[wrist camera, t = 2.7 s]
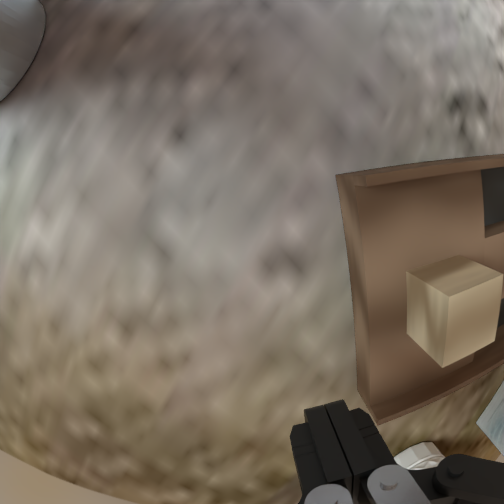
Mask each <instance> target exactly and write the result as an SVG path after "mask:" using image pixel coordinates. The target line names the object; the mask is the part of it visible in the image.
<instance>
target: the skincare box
mask: <svg viewBox="0 0 504 504" xmlns="http://www.w3.org/2000/svg"><path fill="white" fill-rule="evenodd" d="M476 424H477V425H478V426H479V427H480V429H481V430H482V431H483V432H484V433H485V434H486V436H487V437H488V438H489V439H490V440H491V442H492V443H493V444H494V445H495V446H496V448H497V449H498V450H499V451H500V452H501V454H502V455H503V456H504V381H503V382H502V384H501V386H500V387H499V389H498V390H497V392H496V394H495V395H494V397H493V398H492V400H491V401H490V403H489V404H488V406H487V407H486V409H485V410H484V412H483V413H482V415H481V416H480V417H479V419H478V420H477V422H476Z"/></svg>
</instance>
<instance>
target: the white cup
mask: <svg viewBox="0 0 504 504" xmlns="http://www.w3.org/2000/svg"><path fill="white" fill-rule="evenodd" d="M444 458H446V457H445V456H444V455H443V454H442V453H441V452H440V450H439V449H438V448H437V447H436V446H435V445H434V444H433V443H432V442H422V443H419V444H416V445H414V446H411V447H409V448H407V449H406V450H404V451H402V452H401V453H399V454H398V455H396V456H395V457H394V460H395V461H396V463H397V464H399V465H400V466H402V467H404V468H406V469H410V470H421V469H427V468H432V467H437V466H438V464H439V463H440V462H441V461H442V460H443V459H444Z"/></svg>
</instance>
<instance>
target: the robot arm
mask: <svg viewBox="0 0 504 504" xmlns="http://www.w3.org/2000/svg"><path fill="white" fill-rule="evenodd" d="M45 18H46V15H45V11H44V7H43V6H42V4H41V3H40V2H39V1H38V0H0V101H1V100H2V99H3V98H5V97H6V96H7V95H8V93H9V92H10V91H11V90H12V89H13V88H14V87H15V86H16V85H17V83H18V82H19V81H20V79H21V78H22V77H23V75H24V74H25V72H26V71H27V69H28V67H29V66H30V64H31V63H32V61H33V59H34V57H35V55H36V53H37V51H38V48H39V46H40V43H41V40H42V38H43V33H44V29H45ZM304 416H305V423H303V424H298V425H294V426H293V428H292V431H291V434H290V440H291V445H292V451H293V456H294V461H295V465H296V469H297V473H298V478H299V482H300V486H301V490H302V498H301V500H300V501H299V503H298V504H504V463H500V462H496V461H490V460H485V459H481V458H476V457H472V456H467V455H463V454H453V455H450V456H447V457H446V458H444V459H443V460H442V461H441V462H440V463H439V464H438V466H437V467H432V468H427V469H421V470H410V469H406V468H404V467H402V466H400V465H399V464H397V463H396V461H395V460H394V458H393V456H392V454H391V452H390V451H389V449H388V447H387V445H386V444H385V442H384V440H383V438H382V436H381V435H380V434H379V431H378V429H377V428H376V426H375V424H374V422H373V421H372V419H371V417H370V415H369V414H367V413H366V412H364V411H363V410H362V409H360V408H357V409H354V410H351V411H349V409H348V407H347V405H346V403H345V402H344V400H343V399H342V400H339V401H335V402H331V403H328V404H324V406H323V405H321V406H317V407H313V408H309V409H304Z"/></svg>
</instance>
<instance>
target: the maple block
mask: <svg viewBox="0 0 504 504" xmlns="http://www.w3.org/2000/svg"><path fill="white" fill-rule="evenodd" d="M406 281H407V334H408V335H409V336H410V337H411V338H412V339H413V340H414V341H415V342H416V343H417V344H418V345H419V346H420V347H421V348H422V349H423V350H424V351H425V352H426V353H427V354H428V355H429V356H430V357H432V358H433V359H434V360H435V361H436V362H437V363H438V364H439V365H440V366H441V367H442V368H443V367H445V366H448V365H450V364H452V363H454V362H456V361H458V360H460V359H462V358H464V357H466V356H468V355H470V354H472V353H474V352H475V351H477V350H479V349H481V348H483V347H485V346H487V345H488V344H490V343H492V342H494V341H495V336H496V330H497V324H498V318H499V311H500V303H501V295H502V285H503V274H502V273H500V272H497V271H495V270H493V269H491V268H488V267H486V266H484V265H481V264H479V263H477V262H474V261H472V260H470V259H467V258H465V257H462V256H460V255H456V256H453V257H450V258H447V259H444V260H441V261H438V262H434V263H431V264H428V265H425V266H421V267H418V268H415V269H411V270H408V271H406Z"/></svg>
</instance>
